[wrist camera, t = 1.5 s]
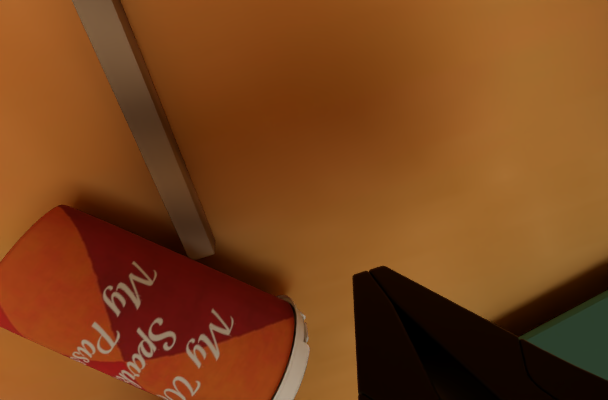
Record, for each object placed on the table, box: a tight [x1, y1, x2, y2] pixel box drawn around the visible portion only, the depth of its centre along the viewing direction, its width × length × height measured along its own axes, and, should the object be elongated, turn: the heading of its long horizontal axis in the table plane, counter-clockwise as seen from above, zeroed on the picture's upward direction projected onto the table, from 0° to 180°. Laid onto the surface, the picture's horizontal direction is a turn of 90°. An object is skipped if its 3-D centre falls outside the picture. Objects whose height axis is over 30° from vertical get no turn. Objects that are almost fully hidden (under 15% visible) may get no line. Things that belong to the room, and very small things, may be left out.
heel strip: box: [72, 0, 215, 260], centre depth 17 cm, size 16×2×2 cm, turn 12°
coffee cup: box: [0, 205, 310, 400], centre depth 19 cm, size 8×8×15 cm
